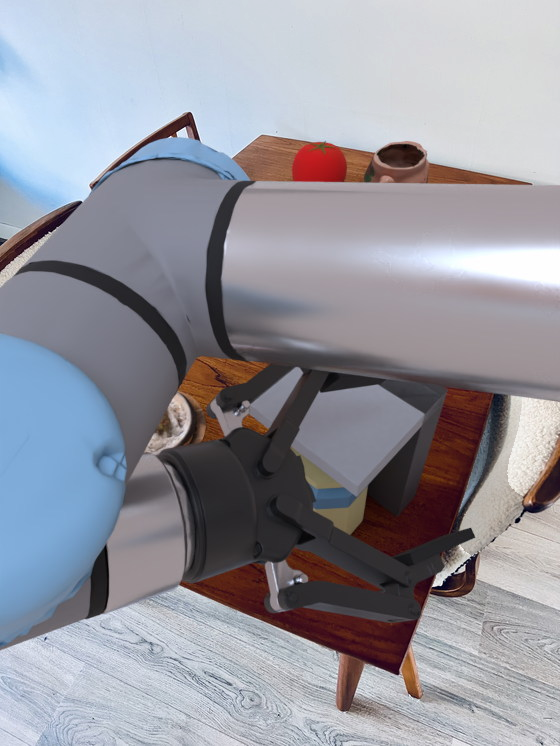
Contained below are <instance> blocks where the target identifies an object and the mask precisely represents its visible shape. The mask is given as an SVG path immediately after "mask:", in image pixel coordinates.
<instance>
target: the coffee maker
mask: <svg viewBox="0 0 560 746" xmlns="http://www.w3.org/2000/svg"><path fill="white" fill-rule="evenodd" d="M302 374H303V372H302V370H301V369H300V368H299V367H295V368H294V369H293V370H292V371H290V372H289V373H288V374H287V375H286V376H284V377H283V378H282V379H281V380H279V381H278V382H277V383H276V384H275V385H273V386H272V387H271V388H270V389H269V390H267V391H266V392H265V393H264V394H262V395H261V396H260V397H259V398H258V399H256V400H255V401H254V402H253V403H252V404H250V407H249V408H250V412H249V414H248V415H250V416H251V417H252V418H254V419H255V420H256V421H257V422H259V423H260V424H261V425H263V427H265V428H267V430H268V429H269V428H270V426H271V425H272V423H273V421H274V420H275V418H276V416H277V415H278V413H279V412H280V410H281V408H282V407H283V405H284V403H285V402H286V400H287V398H288V397H289V395H290V393H291V392H292V390H293V389H294V387H295V385H296V384H297V382H298V380H299V379H300V377H301V375H302ZM447 394H448V388H447V387H443V386H435V385H428V384H420V383H413V382H405V381H398V380H390V379H387V380H386V381H384V382H383V383H381V384H378V385H372V386H365V387H358V388H351V389H344V390H337V391H331V392H324V393H320V391H319V392H318V394H317V396H316V398H315V400H314V401H313V403H312V405H311V407H310V408H309V410H308V412H307V414H306V416H305V417H304V419H303V421H302V423H301V425H300V426H299V428H300V430H299V432H298V434H297V436H296V438H295V439H294V441H293V443H292V445H291V447H293V448H294V449H295V450H296V451H298V452H299V453H300V454H302V455H303V456H304V457H306V458H307V459H308V460H309V461H311V462H312V463H313V464H315V465H316V466H317V467H318V468H320V469H321V470H322V471H324V472H325V473H326V474H328V475H329V476H330V477H331V478H333V479H334V480H335V481H337V482H338V483H339V484H341V485H342V486H343V487H344V488H346V489H347V490H348V491H350V492H351V493H352V494H354V495H355V496H356V497H357V496H358V495H359V494H360V493H361V492H362V491H363V490H364V489H365V487H366V486H367V485H368V489H367V495H366V496H368V497H369V498H371V499H372V500H373V501H375V502H376V503H378V505H380V506H382V507H383V508H384V509H386V510H387V511H388V512H390V513H391V514H392V515H393V516H395V517H396V518H398V517H399V516H400V515H401V514H402V513H403V511H404V510H405V509H406V508H407V507H408V505H409V504H410V503H411V502H412V501H413V499H414V498H415V497H416V495H417V491H418V489H419V488H418V487H419V485H420V482H421V478H422V476H423V472H424V469H425V466H426V462H427V459H428V456H429V452H430V449H431V445H432V442H433V439H434V436H435V432H436V429H437V427H438V423H439V420H440V416H441V413H442V409H443V407H444V403H445V399H446V397H447ZM291 447H290V448H291Z"/></svg>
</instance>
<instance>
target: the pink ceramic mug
mask: <svg viewBox="0 0 560 746" xmlns="http://www.w3.org/2000/svg"><path fill="white" fill-rule="evenodd" d="M427 157H428V150H426V149H424V147H423V146H422V145H421V144H420V143H418V142H417V141H410V140H404V141H393V142H389V143H387V144H385V145H383V146H382V147H381V148H379V149H378V150H376V151H375V152H374V153H373V156H372V158H371V160H370V162H369V164H368V166H367V168H366V170H365V172H364V174H363V179H362V183H426V184H429V183H428V182H429V176H430V173H429V170H430V167H431V166H430V162H429V160H428V159H427Z"/></svg>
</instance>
